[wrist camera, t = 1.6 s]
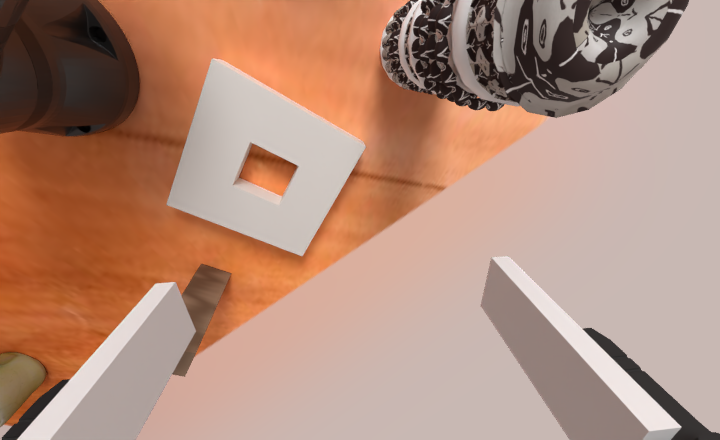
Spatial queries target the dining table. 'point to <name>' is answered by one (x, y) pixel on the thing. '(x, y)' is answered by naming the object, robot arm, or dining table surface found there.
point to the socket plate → (273, 133)
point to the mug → (17, 382)
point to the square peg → (201, 307)
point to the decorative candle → (524, 49)
